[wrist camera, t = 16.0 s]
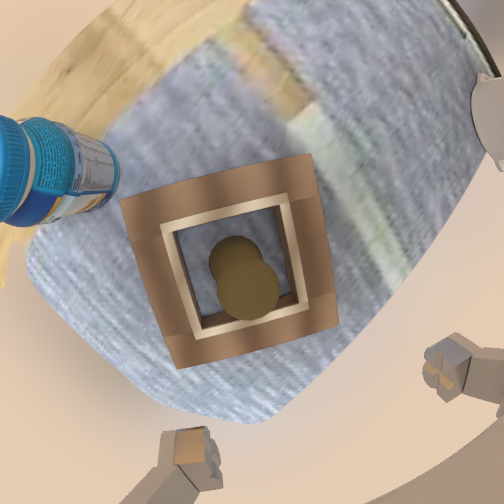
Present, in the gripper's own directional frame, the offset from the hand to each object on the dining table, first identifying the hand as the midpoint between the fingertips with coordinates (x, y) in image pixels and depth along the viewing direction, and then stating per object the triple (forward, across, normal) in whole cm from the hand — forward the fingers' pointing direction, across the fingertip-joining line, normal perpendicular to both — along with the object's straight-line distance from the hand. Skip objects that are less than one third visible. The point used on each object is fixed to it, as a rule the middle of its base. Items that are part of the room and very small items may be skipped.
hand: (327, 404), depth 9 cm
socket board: (+25, +1, +1) cm, 25 cm away
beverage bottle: (+25, +15, -13) cm, 32 cm away
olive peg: (+25, +1, +1) cm, 25 cm away
